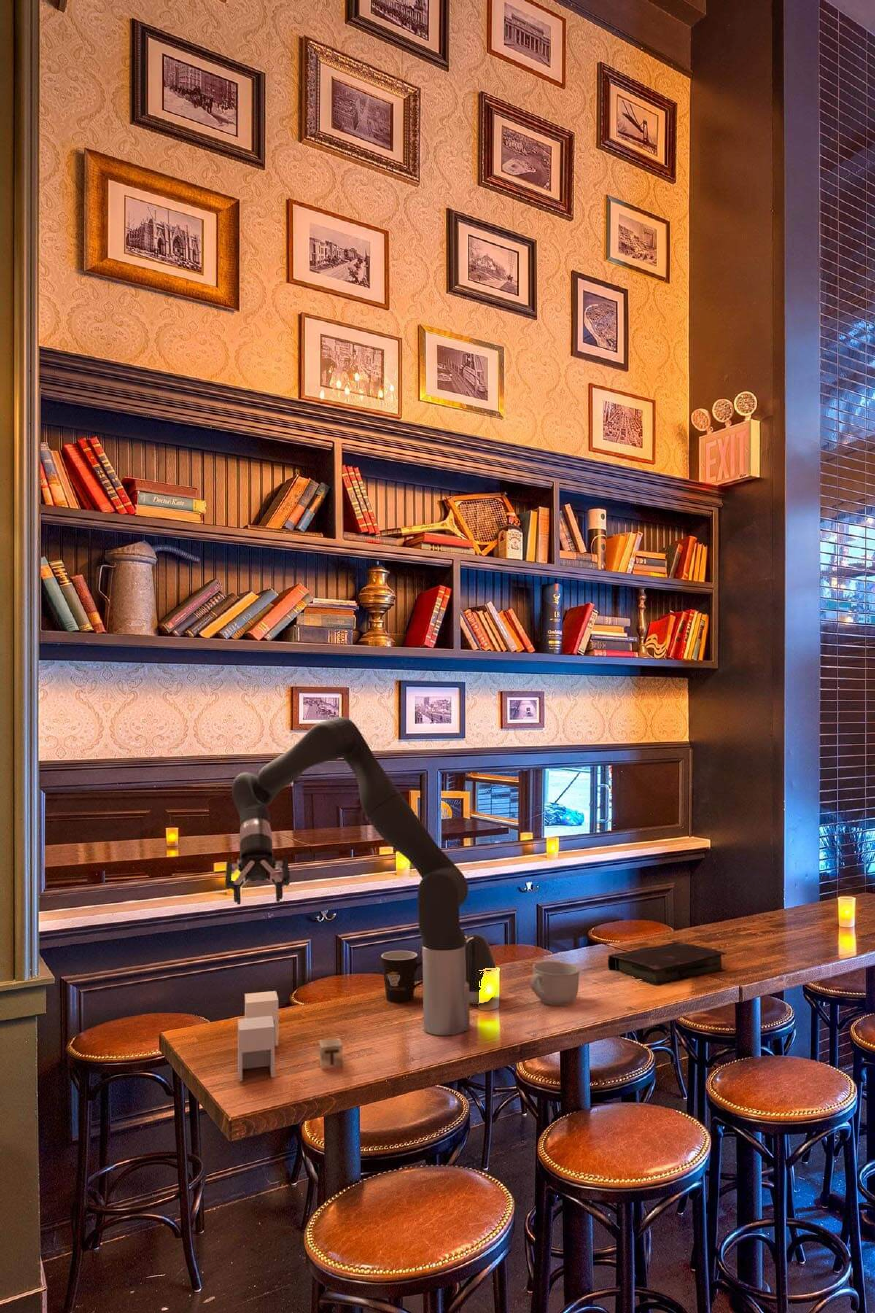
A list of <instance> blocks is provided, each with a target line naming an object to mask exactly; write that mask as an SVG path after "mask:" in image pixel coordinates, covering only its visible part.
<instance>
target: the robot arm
mask: <svg viewBox="0 0 875 1313" xmlns="http://www.w3.org/2000/svg"><path fill="white" fill-rule="evenodd" d="M341 758H342V759H343V760H344V761H345V762H346V763H347V765H348V766H349V768H350V769H351V771H352V772H353V774H354V776H355V778H356V781H357V785H358V792H359V793H358V794H359V799H360V800H359V801H360V805H361V808H362V811H363V813H364V815H365V817H366V818H367V820H368V821H369V823H370V824H371V825H372V827H373V828H374V830H376V832H377V834H378V835H379V836H380V837H381V838H382V839H383V840H384V841H385V842H386V843H388V844H389V845H390V846H391V847H392V848H393V849H394V850H396V851H397V852H399V853H400V854H401V855H403V857H405V858H406V859H407V860H408V861H409V862H410V864H412V866H413V867H414V868H415V869H416V871H417V873H418V874H419V875H420V877H421V879H420V882H419V885H418V888H417V918H418V919H417V920H418V930H419V934H420V936H421V940H422V941H421V944H422V945H421V946H422V953H421V954H422V962H423V965H422V980H423V983H422V1001H423V1002H422V1005H423V1006H422V1008H423V1010H422V1011H423V1018H422V1019H423V1020H422V1021H423V1030H424V1032H426V1033H429V1034H431V1035H435V1036H453V1035H458V1034H462V1033H464V1032H465V1031H470V1030H471V1025H470V1024H471V1022H470V1021H471V1019H470V1018H471V1016H470V1003H469V984H468V983H467V982H466V958H465V934H466V933H465V932H464V930H463V929H462V928H461V923H460V907H461V906H462V905H463V904H464V903H465V902H466V900H467V898H468V895H469V885H468V881H467V879H466V876H464V873H463V872H462V871H461V870H460V869H459V868H458V867H457V865H456V864H455V863H454V862H453V861H452V860H451V859H450V858H449V857H448V856H447V855H446V853H445V852H444V851H443V850H442V848H440V846H438V843H436V842H435V840H434V839H433V837H432V836H431V834H430V833H429V831H428V830H427V828H426V827H425V825H424V824H423V822H422V821H421V820H420V819H419V817H418V816H417V815H416V812H414V810H413V809H412V807H411V806H410V804H409V802H408V801H407V800H406V799H405V797H404V796H403V794H402V793H401V792H400V791H399V790H398V788H397V787H396V786H395V784H394V783H393V782H392V780H391V779H390V777H389V775H388V774H387V772H386V771H385V770H384V769H383V767H382V765H381V764H380V763H379V761H378V760H377V758H376V757H375V755H374V753H373V752H372V750H371V748H370V746H369V745H368V743H367V741H366V739H365V738H364V736H363V734H362V733H361V731H360V730H359V729H358V726H356V724H355V723H354V722H353V721H352V720H351V719H350V718H348V717H346V716H336V717H333V718H330V719H327V720H323V721H320V722H318V723H316V724H314V725H313V726H312V727H311V728H310V729H309V730H308V731H307V732H306V734H304V735H303V737H302V738H301V739H299V741H298V742H297V743H296V744H294V745H293V746H292V747H291V748H290V749H288V750H286V751H285V752H284V753H282V754H281V755H278V757H276V758H275V759H273V760H272V761H270V762H268V763H267V764H266V765H264V766H263V767H262V768H261V769H260V770H259V771H258V773H257V774H258V775H256V774H253V773H251V772H241V773H240V774H238V775H237V776H236V777H235V778H234V780H233V782H232V785H231V794H232V795H231V796H232V799H233V802H234V805H235V808H236V810H237V813H238V815H239V837H238V838H239V842H238V845H239V862H238V863H233V862H232V861H230V860H228V861H227V862H226V865H225V866H226V867H225V868H226V869H225V883H224V884H225V886H224V887H225V890H232V891H233V902H234V903H236V904H237V905H239V906H240V905H241V888H242V887H243V886H245V885H246V883H248V881H250V882H256V881H265V880H267V881H268V882H269V883H270V884H273V886H275V899H276V900H275V902H276V903H280V901H281V900H282V899H283V898H284V896H283V895H284V894H283V893H284V891H283V890H284V889H283V887H284V886H289V885H290V880H291V874H290V868H289V861H288V860H289V859H287V857H283V858H282V859H281V860H277V861H276V860H275V858H274V847H273V835H272V834H273V833H272V829H271V819H270V818H271V817H270V810H269V808H268V806H269V805H271V803H272V802H273V800H274V799H275V797H276V796H277V795H278V794H279V792H280V791H281V790H282V789H284V788H286V787H287V786H289V785H290V784H292V783H293V782H295V781H296V780H297V779H299V778H300V776H301V775H302V773H303V772H305V771H306V770H307V769H309V768H311V767H314V766H316V765H319V764H323V763H327V762H333V761H336V760H338V759H341ZM276 868H277V869H278V870H279V871H280V872H282V877H281V876H280V875H279V874H278V873H277V871H276V870H275V869H276ZM237 870H238V871H239V872H240V873H239V875H238V876H237V877H236V878H235V880H232V875H234V874H235V873H236V871H237Z"/></svg>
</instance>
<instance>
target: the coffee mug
mask: <svg viewBox="0 0 875 1313" xmlns="http://www.w3.org/2000/svg"><path fill="white" fill-rule="evenodd" d="M380 957H381V965H382V972H383V974H382V975H383V981H384V990H385V996H386V997H385V998H386V1001H388V1002H389V1001H390V1003H394V1004H395V1003H396V1004H399V1003H400V1004H401V1003H407V1002H408V1001H409V1002H411V1001H413V1000H414V996H415V989H416V988H417V987H420V985H423V979H422V980H421V981H420V982H418V983H416V975H417V970H418V968H419V967H420V966H423V961H421V962H418V953H417V952H414V951H409V950H391V951H386V952H384V953H382V954H381V956H380ZM417 962H418V963H417ZM409 1002H408V1003H409Z"/></svg>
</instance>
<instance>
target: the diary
mask: <svg viewBox="0 0 875 1313" xmlns="http://www.w3.org/2000/svg"><path fill="white" fill-rule="evenodd" d="M723 955H724V956H725V955H727V952H725V951H721V950H717V949H713V948H709V947H707V946H702V945H696V944H691V943H684V942H680V941H674V942H670V943H665V944H662V945H657V946H651V947H650V946H649V947H643V948H638V949H634V950H631V951H629V950H628V951H625V952H619V953H617V952H616V953H612V954H608V956H607V966H608V967H607V968H608V971H618V972H619V973H620V972H621V974H623V975H626V976H630V977H632V976H633V977H635V978H633V979H634V980H637V979H642V980H639V981H641V982H643V983H645V982H646V984H648V983H649V984H648V985H652V986H663V985H667V984H668V983H669V984H672V983H671V982H674V983H677V981H678V982H682V981H685V979H687V980H689V979H695V978H701V977H702V976H706V975H711V974H717V973H722V972H727V971H728V970H727V969H725V968H723V967H722V956H723ZM614 969H615V970H614ZM669 984H668V985H669Z"/></svg>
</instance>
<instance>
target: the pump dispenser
mask: <svg viewBox="0 0 875 1313" xmlns="http://www.w3.org/2000/svg"><path fill="white" fill-rule="evenodd" d="M465 958H466V982H467V983H468V984H469V1005H479V1004H478V1003H479V990H480V989H481V988H480V987H479V981H480V986H481V979H482V977H483V974H484V973H483V972H484V971H479V970H483V969H485V968H496V969H497V966H496V962H495V958H494V955H493V952H492V949H491V946H490V945H489V943H488V941H487V940H486V937H484V936H482V935H481V934H477V933H473V934H469V935H468V934H467V933H465ZM486 971H491V970H486ZM481 972H482V973H481ZM480 973H481V974H480Z"/></svg>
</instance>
